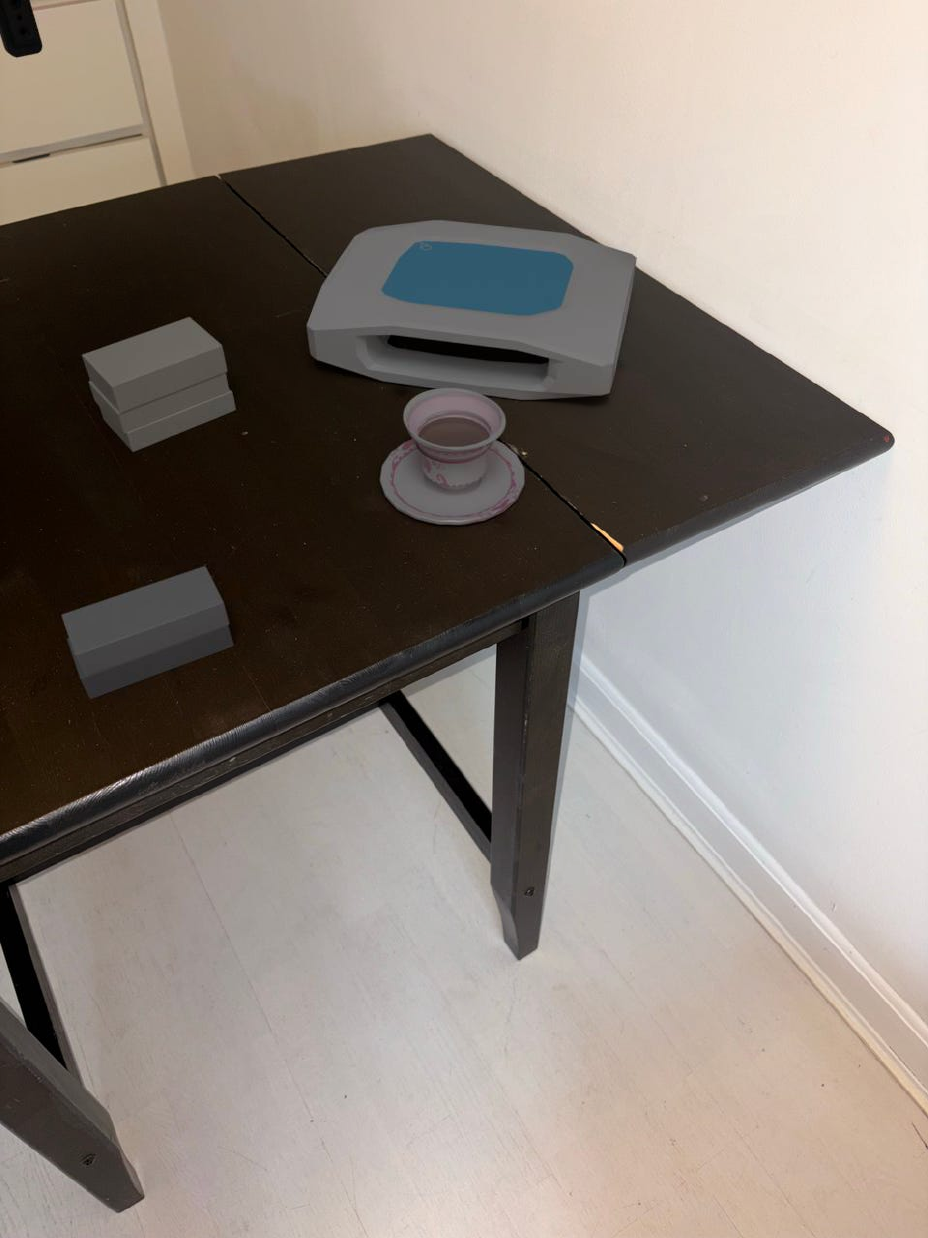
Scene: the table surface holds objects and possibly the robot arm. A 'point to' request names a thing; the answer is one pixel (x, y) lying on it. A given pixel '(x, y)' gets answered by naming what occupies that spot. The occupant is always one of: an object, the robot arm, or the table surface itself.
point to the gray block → (147, 631)
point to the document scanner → (476, 308)
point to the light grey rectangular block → (155, 364)
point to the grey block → (168, 412)
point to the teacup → (452, 460)
